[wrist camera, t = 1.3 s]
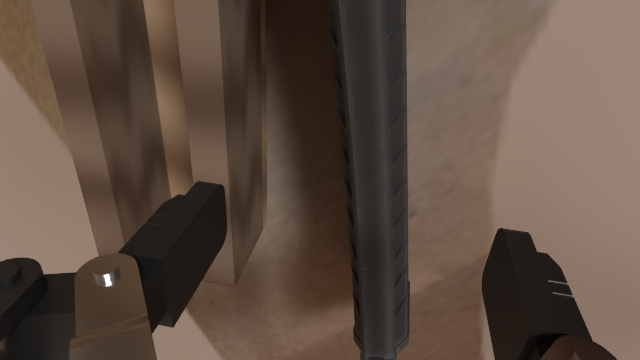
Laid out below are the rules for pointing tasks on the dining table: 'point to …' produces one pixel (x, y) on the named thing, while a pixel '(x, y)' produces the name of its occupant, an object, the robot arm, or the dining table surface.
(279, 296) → the dining table surface
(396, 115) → the magazine
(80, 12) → the slot block
